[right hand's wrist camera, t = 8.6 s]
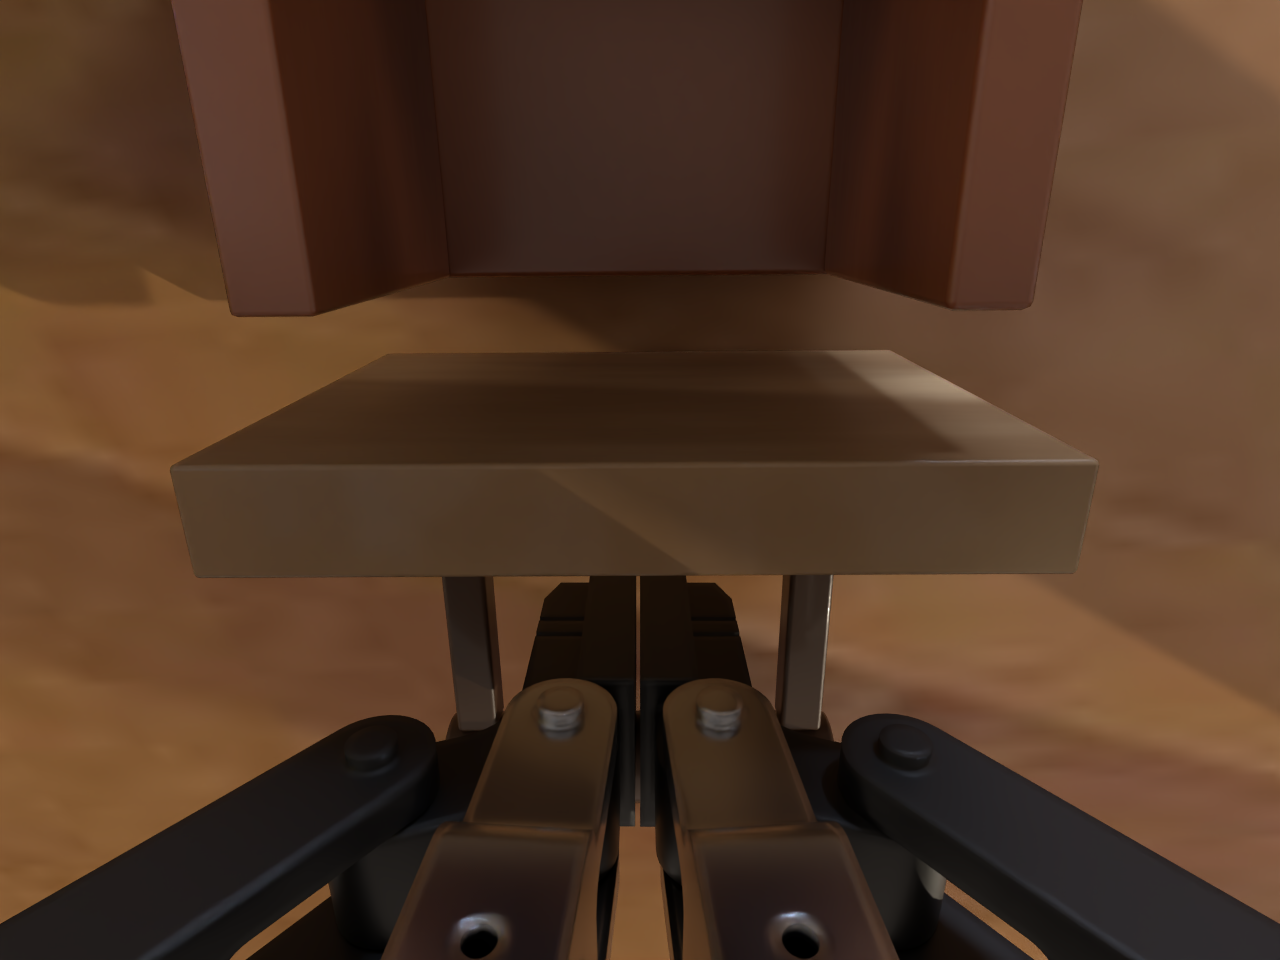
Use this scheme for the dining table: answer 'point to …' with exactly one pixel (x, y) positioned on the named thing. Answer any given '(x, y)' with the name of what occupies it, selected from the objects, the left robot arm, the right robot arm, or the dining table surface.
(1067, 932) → the right robot arm
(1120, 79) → the dining table surface
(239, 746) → the dining table surface
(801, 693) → the drawer
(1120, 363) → the dining table surface
